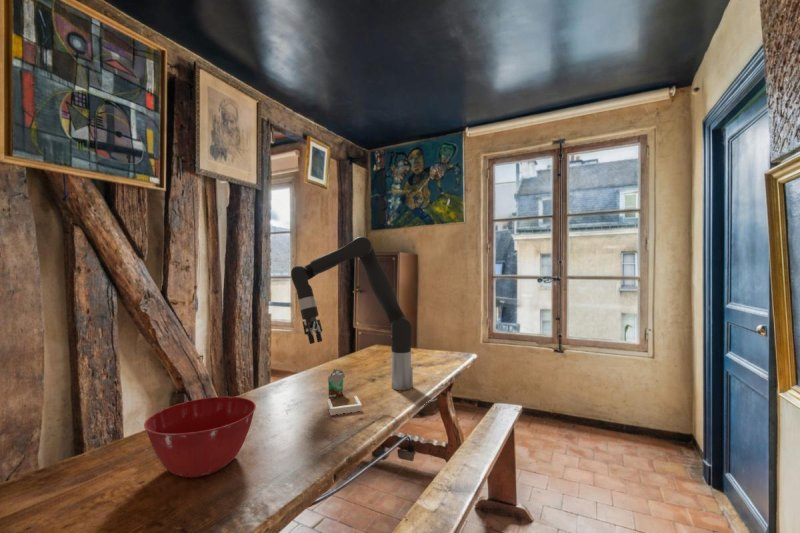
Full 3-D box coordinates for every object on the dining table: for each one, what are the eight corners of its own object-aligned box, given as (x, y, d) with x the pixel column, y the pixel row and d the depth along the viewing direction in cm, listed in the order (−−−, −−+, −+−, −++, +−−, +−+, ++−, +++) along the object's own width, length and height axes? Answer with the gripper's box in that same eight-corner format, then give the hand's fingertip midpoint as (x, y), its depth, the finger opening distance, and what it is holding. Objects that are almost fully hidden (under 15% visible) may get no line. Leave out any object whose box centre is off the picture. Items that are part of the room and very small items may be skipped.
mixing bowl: (185, 441, 123) (185, 394, 123) (270, 441, 122) (270, 395, 122) (118, 494, 94) (117, 433, 94) (228, 495, 94) (227, 434, 93)
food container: (342, 400, 159) (342, 376, 159) (328, 400, 159) (327, 376, 159) (347, 390, 171) (346, 368, 171) (333, 390, 171) (333, 368, 171)
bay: (356, 401, 157) (356, 396, 157) (362, 411, 147) (362, 404, 147) (327, 405, 153) (327, 399, 153) (330, 415, 143) (330, 408, 143)
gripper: (309, 305, 163) (317, 342, 160) (321, 305, 176) (329, 339, 174) (293, 310, 164) (301, 346, 161) (307, 310, 178) (315, 343, 175)
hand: (316, 342), depth 168 cm, fingers open, 8 cm apart
